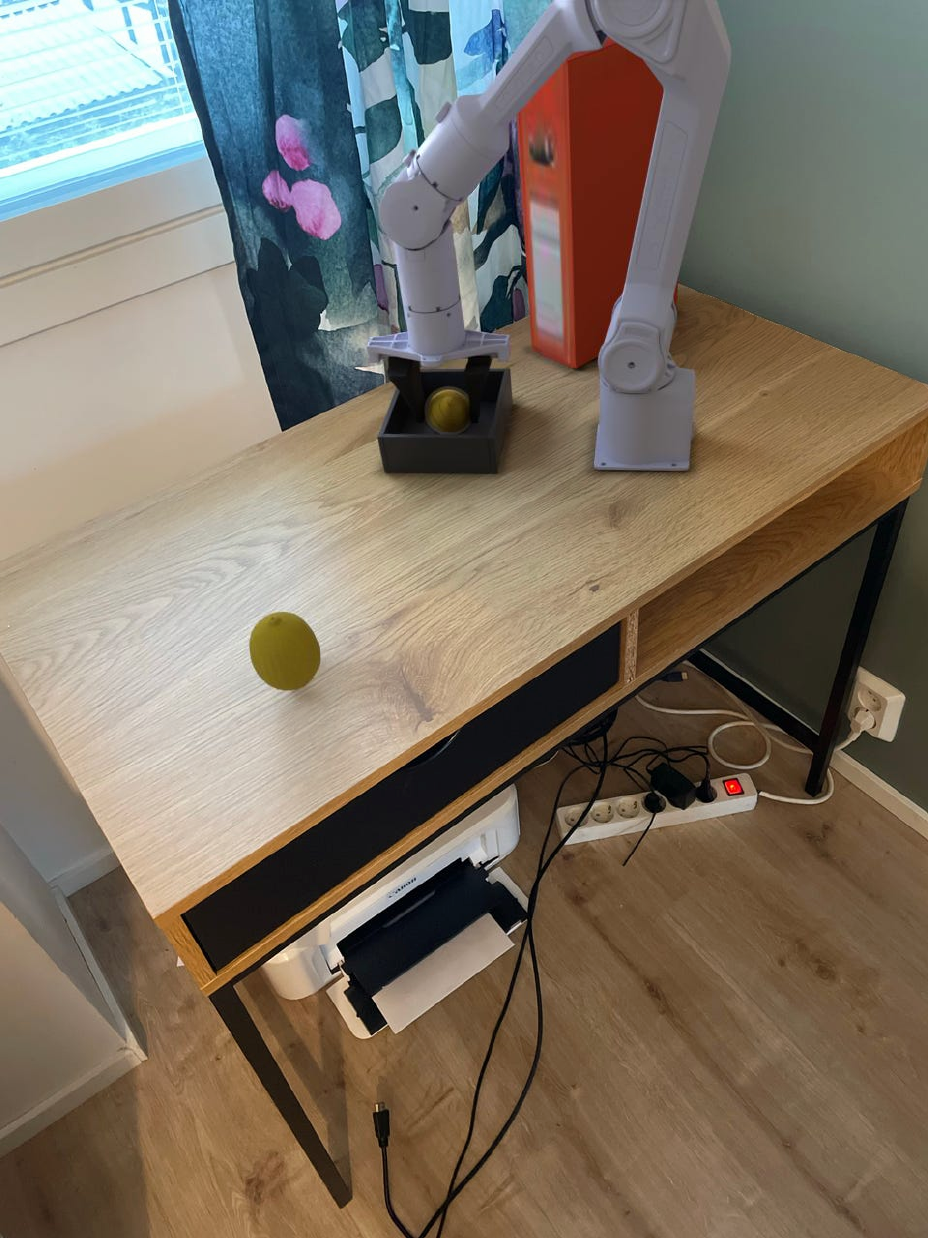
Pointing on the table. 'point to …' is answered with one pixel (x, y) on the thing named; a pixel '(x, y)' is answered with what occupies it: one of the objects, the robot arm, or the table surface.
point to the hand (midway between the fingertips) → (448, 418)
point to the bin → (448, 453)
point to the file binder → (584, 194)
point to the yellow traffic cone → (448, 411)
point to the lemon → (284, 651)
